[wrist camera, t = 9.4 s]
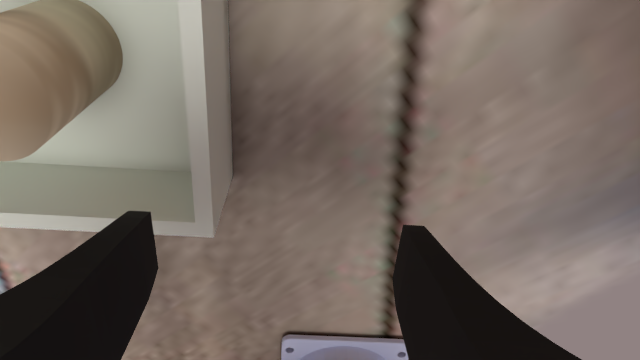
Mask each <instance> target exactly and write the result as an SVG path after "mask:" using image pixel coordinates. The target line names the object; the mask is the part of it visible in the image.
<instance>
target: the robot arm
mask: <svg viewBox="0 0 640 360" xmlns="http://www.w3.org/2000/svg"><path fill="white" fill-rule="evenodd" d="M157 270H158V262H157V255H156V247H155V240H154V233H153V225H152V218H151V212H147V211H127V212H126V213H124V214H123V215H122V216H120V217H119V218H117V219H116V220H115V221H113V222H112V223H111V224H109V225H108V226H107V227H105V228H104V229H102V230H101V231H100V232H98V233H97V234H96V235H94V236H93V237H92V238H90V239H89V240H87V241H86V242H85V243H83V244H82V245H80V246H79V247H78V248H76V249H75V250H73V251H72V252H70V253H69V254H67V255H66V256H64V257H63V258H61V259H60V260H58V261H57V262H55V263H54V264H52V265H51V266H49V267H48V268H46V269H44V270H43V271H41V272H40V273H38V274H36V275H35V276H33V277H31V278H30V279H28V280H26V281H24V282H23V283H21V284H19V285H17V286H15V287H14V288H12V289H10V290H8V291H6V292H4V293H2V294H1V295H0V360H121V358H122V356H123V354H124V352H125V350H126V347H127V345H128V343H129V341H130V339H131V337H132V335H133V332H134V330H135V328H136V326H137V324H138V322H139V320H140V317H141V315H142V313H143V311H144V309H145V306H146V304H147V302H148V300H149V297H150V294H151V290H152V287H153V284H154V281H155V277H156V274H157ZM393 288H394V297H395V304H396V311H397V315H398V319H399V323H400V327H401V331H402V335H403V339H388V338H363V337H339V336H315V335H286V336H284V337H283V338H282V349H281V360H408V358H409V360H581V359H580V358H578V357H576V356H575V355H573V354H571V353H569V352H568V351H566V350H565V349H563V348H561V347H560V346H558V345H556V344H555V343H553V342H552V341H550V340H549V339H547V338H546V337H544V336H543V335H542V334H540V333H539V332H537V331H536V330H534V329H533V328H531V327H530V326H528V325H527V324H526V323H524V322H523V321H522V320H520V319H519V318H518V317H516V316H515V315H514V314H513V313H511V312H510V311H509V310H508V309H506V308H505V307H504V306H503V305H501V304H500V303H499V302H498V301H497V300H495V299H494V298H493V297H492V296H491V295H490V294H489V293H488V292H486V291H485V290H484V289H483V288H482V287H481V286H480V285H479V284H478V283H477V282H476V281H475V280H474V279H473V278H472V277H471V276H470V275H469V274H468V273H467V272H466V271H465V270H464V269H463V268H462V267H461V266H460V265H459V264H458V263H457V262H456V261H455V260H454V259H453V258H452V257H451V256H450V254H449V253H448V252H447V251H446V250H445V249H444V248H443V247H442V246H441V244H440V243H439V242H438V241H437V240H436V239H435V238H434V237H433V235H432V234H431V233H430V232H429V231H428V230H427V229H426V228H425V227H424V226H414V225H403V228H402V233H401V239H400V244H399V249H398V254H397V259H396V264H395V269H394V274H393ZM289 347H290V348H289Z"/></svg>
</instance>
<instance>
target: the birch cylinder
mask: <svg viewBox="0 0 640 360" xmlns="http://www.w3.org/2000/svg"><path fill="white" fill-rule="evenodd" d="M122 63H123V54H122V48H121V44H120V41H119V39H118V37H117V34H116V33H115V31H114V29H113V28H112V26H111V25H110V24H109V22H108V21H107V20H106V19H105V18H104V17H103V16H102V15H101V14H100V13H99V12H98V11H96V10H95V9H94V8H92V7H91V6H89V5H87V4H85V3H83V2H81V1H79V0H39V1H36V2H32V3H29V4H26V5H23V6H20V7H17V8H14V9H10V10H7V11H4V12H1V13H0V161H14V160H18V159H22V158H24V157H27V156H29V155H31V154H32V153H34V152H35V151H37V150H38V149H39V148H40V147H41V146H42V145H44V144H45V143H46V142H47V141H48V140H49V139H51V138H52V137H53V136H54V135H55V134H56V133H58V132H59V131H60V130H61V129H62V128H63V127H65V126H66V125H67V124H68V123H69V122H70V121H72V120H73V119H74V118H75V117H76V116H77V115H79V114H80V113H81V112H82V111H83V110H84V109H86V108H87V107H88V106H89V105H90V104H91V103H93V102H94V101H95V100H96V99H97V98H98V97H100V96H101V95H102V94H103V93H104V92H105V91H107V90H108V89H109V88H110V87H111V86H112V85H113V84H114V83H115V82H116V80H117V79H118V77H119V75H120V72H121V69H122Z"/></svg>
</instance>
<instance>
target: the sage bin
mask: <svg viewBox="0 0 640 360" xmlns="http://www.w3.org/2000/svg"><path fill="white" fill-rule="evenodd" d="M36 1H39V0H0V13H1V12H4V11H7V10H10V9H14V8H17V7H20V6H23V5H26V4H29V3H32V2H36ZM79 1H81V2H83V3H85V4H87V5H89V6H91V7H92V8H94V9H95V10H96V11H98V12H99V13H100V14H101V15H102V16H103V17H104V18H105V19H106V20H107V21H108V22H109V24H110V25H111V26H112V28H113V29H114V31H115V33H116V34H117V37H118V39H119V41H120V44H121V48H122V54H123V63H122V69H121V72H120V75H119V77H118V79H117V80H116V82H115V83H114V84H113V85H112V86H111V87H110V88H109V89H108V90H107V91H105V92H104V93H103V94H102V95H101V96H100V97H98V98H97V99H96V100H95V101H94V102H93V103H91V104H90V105H89V106H88V107H87V108H86V109H84V110H83V111H82V112H81V113H80V114H79V115H77V116H76V117H75V118H74V119H73V120H72V121H70V122H69V123H68V124H67V125H66V126H65V127H63V128H62V129H61V130H60V131H59V132H58V133H56V134H55V135H54V136H53V137H52V138H51V139H49V140H48V141H47V142H46V143H45V144H44V145H42V146H41V147H40V148H39V149H38V150H37V151H35V152H34V153H32V154H31V155H29V156H27V157H24V158H22V159H18V160H14V161H0V227H9V228H29V229H49V230H69V231H89V232H100V231H101V230H102V229H104V228H105V227H107V226H108V225H109V224H111V223H112V222H113V221H115V220H116V219H117V218H119V217H120V216H122V215H123V214H124V213H126V212H127V211H147V212H151V218H152V225H153V233H154V235H168V236H188V237H208V238H214V236H215V232H216V229H217V226H218V223H219V220H220V216H221V213H222V210H223V207H224V204H225V200H226V197H227V194H228V191H229V187H230V184H231V181H232V178H233V164H232V126H231V89H230V52H229V15H228V0H79Z"/></svg>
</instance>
